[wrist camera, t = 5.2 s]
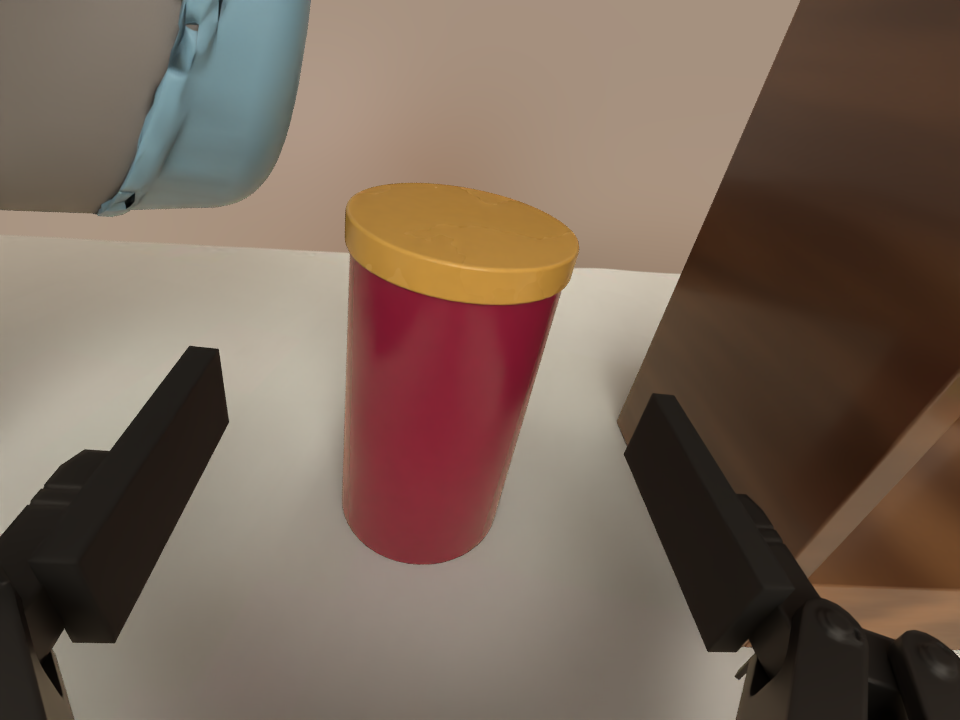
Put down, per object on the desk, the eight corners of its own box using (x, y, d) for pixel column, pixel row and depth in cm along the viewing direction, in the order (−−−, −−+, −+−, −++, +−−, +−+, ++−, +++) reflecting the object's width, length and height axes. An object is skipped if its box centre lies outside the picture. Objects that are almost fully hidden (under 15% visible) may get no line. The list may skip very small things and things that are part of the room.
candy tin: (324, 565, 18) (324, 246, 11) (350, 434, 23) (361, 170, 16) (507, 572, 19) (608, 285, 12) (491, 445, 24) (554, 201, 18)
